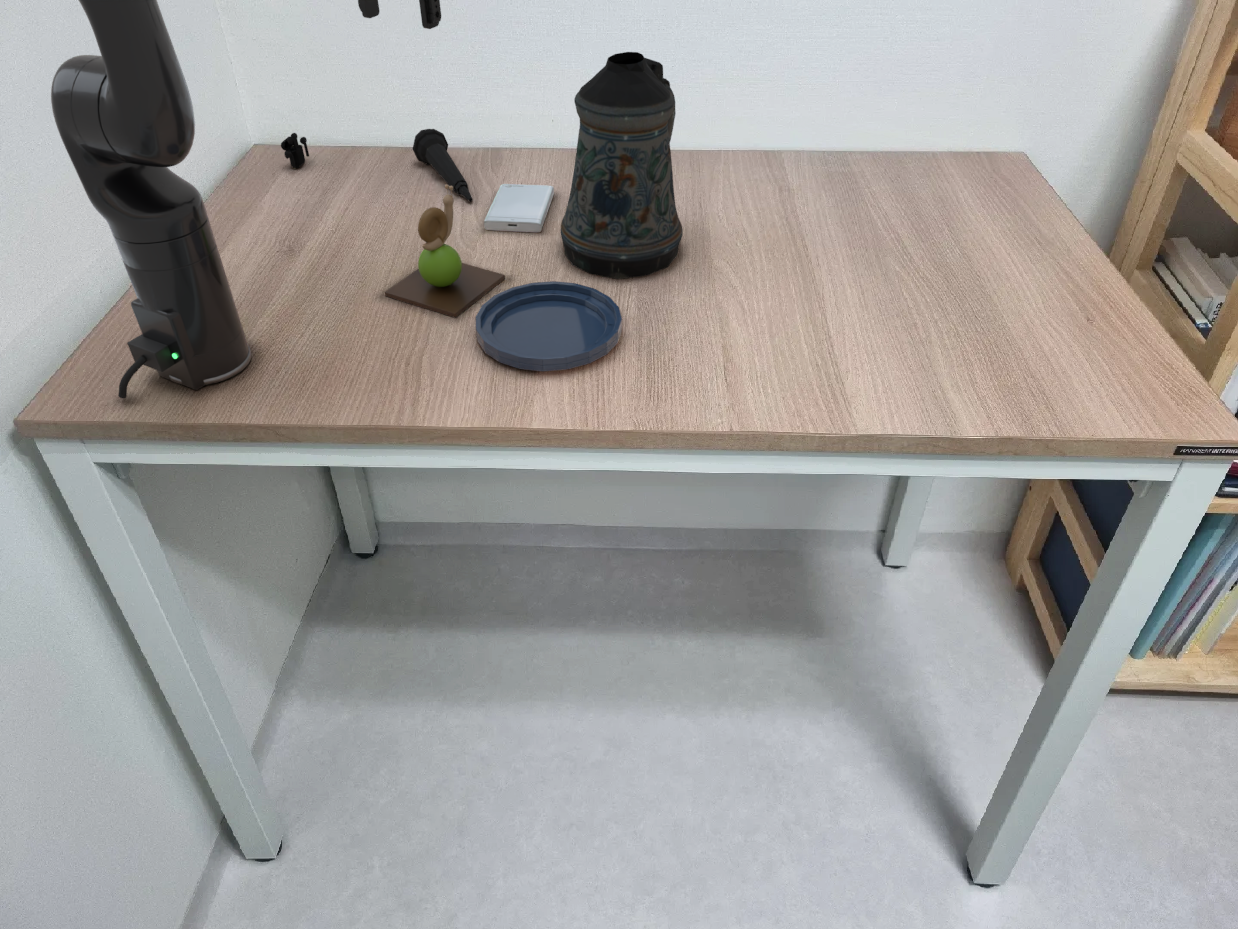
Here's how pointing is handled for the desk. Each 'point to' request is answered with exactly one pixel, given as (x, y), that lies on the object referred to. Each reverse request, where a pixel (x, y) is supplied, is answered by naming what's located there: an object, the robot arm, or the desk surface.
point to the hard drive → (519, 208)
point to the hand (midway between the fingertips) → (401, 21)
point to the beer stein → (623, 173)
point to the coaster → (446, 290)
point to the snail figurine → (438, 245)
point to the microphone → (440, 159)
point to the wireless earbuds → (295, 150)
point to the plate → (548, 326)
